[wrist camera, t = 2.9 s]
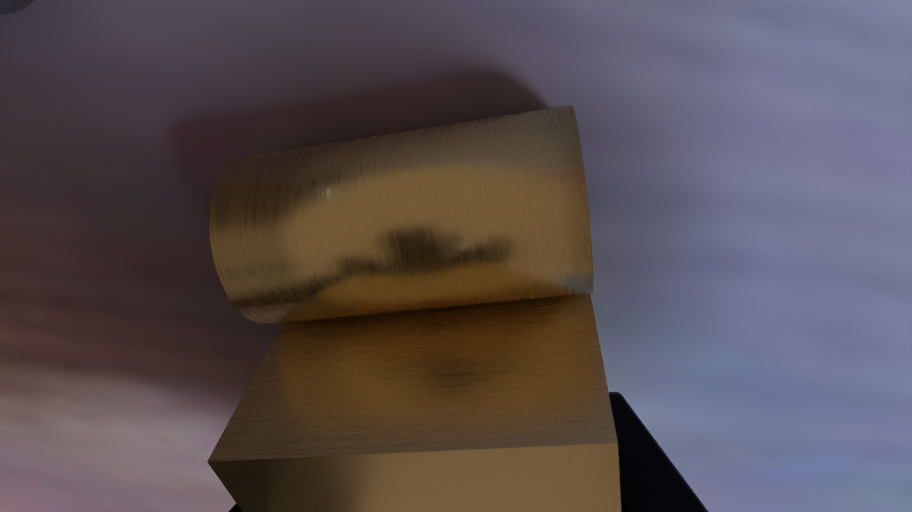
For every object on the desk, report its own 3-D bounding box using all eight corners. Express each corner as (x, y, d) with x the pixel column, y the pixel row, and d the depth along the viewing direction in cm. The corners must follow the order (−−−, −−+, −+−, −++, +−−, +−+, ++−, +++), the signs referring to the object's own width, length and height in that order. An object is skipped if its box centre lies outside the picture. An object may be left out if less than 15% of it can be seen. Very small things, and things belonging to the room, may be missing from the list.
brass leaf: (400, 471, 13) (356, 695, 9) (262, 130, 8) (70, 313, 5) (597, 463, 12) (633, 706, 8) (566, 79, 7) (612, 254, 4)
